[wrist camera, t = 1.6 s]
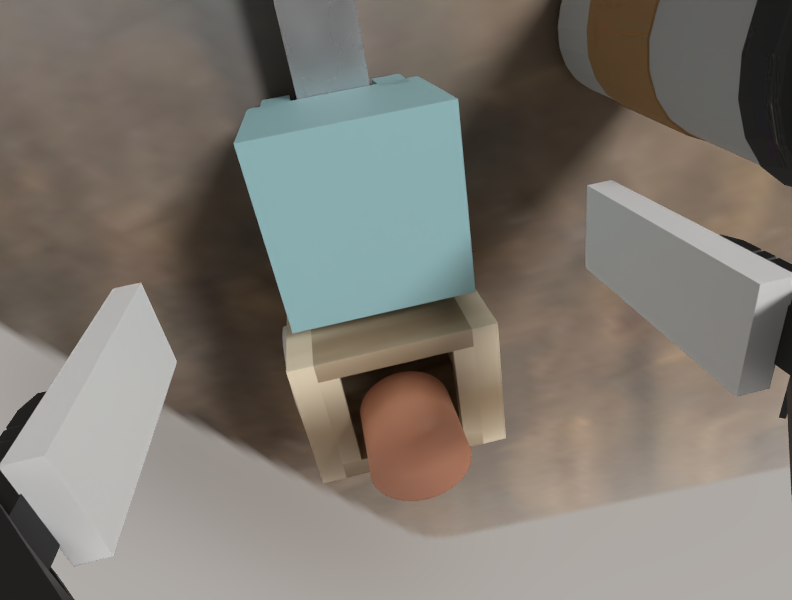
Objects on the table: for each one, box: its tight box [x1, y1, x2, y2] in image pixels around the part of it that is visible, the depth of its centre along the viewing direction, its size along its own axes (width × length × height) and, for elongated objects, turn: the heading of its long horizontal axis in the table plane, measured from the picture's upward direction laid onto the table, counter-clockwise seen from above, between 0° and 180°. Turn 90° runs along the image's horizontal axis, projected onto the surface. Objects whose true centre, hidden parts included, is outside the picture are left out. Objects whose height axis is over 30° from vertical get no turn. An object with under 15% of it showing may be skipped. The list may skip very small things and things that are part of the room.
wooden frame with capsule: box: [282, 289, 506, 483], centre depth 25 cm, size 6×8×9 cm
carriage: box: [234, 74, 476, 333], centre depth 21 cm, size 7×7×8 cm
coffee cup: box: [558, 0, 792, 187], centre depth 17 cm, size 8×8×15 cm
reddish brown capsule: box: [360, 371, 472, 501], centre depth 20 cm, size 4×4×3 cm
